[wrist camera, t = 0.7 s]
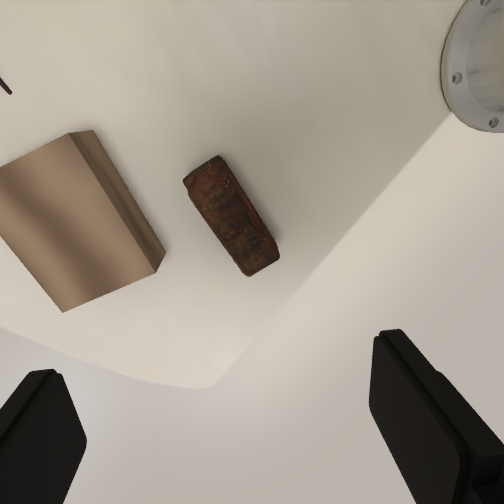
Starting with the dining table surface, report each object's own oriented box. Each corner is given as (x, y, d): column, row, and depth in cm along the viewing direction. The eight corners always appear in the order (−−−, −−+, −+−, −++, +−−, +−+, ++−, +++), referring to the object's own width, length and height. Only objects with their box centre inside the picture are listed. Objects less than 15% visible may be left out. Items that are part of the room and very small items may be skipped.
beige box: (94, 130, 29) (67, 133, 25) (166, 251, 34) (155, 272, 29) (2, 176, 30) (-40, 187, 26) (85, 286, 35) (62, 312, 31)
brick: (277, 241, 34) (283, 259, 30) (244, 259, 35) (246, 280, 30) (220, 151, 30) (217, 157, 26) (185, 174, 31) (177, 184, 27)
